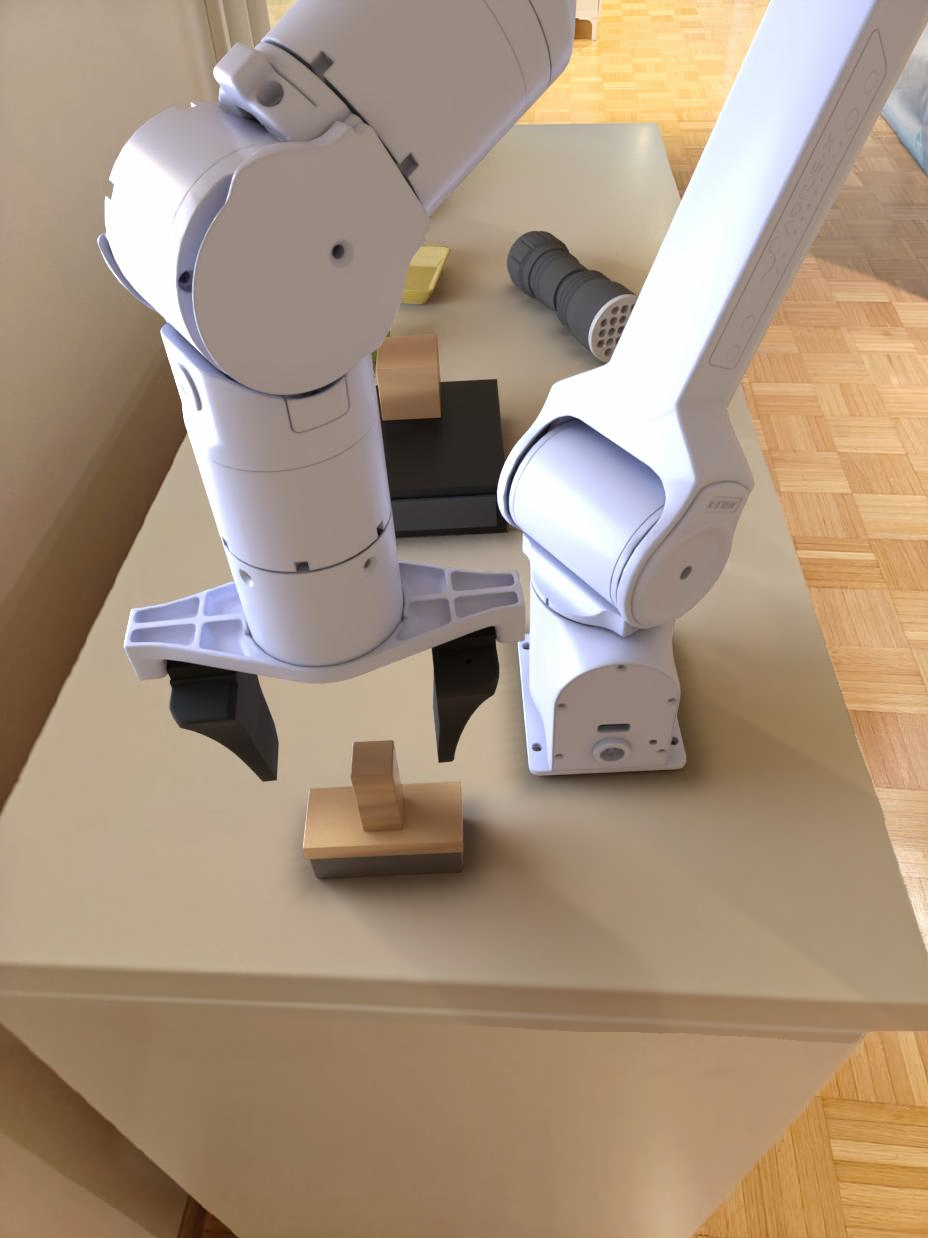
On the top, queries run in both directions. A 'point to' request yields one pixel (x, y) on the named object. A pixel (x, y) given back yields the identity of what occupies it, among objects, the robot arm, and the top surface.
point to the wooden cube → (409, 377)
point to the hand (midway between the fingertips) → (357, 753)
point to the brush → (383, 821)
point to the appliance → (447, 464)
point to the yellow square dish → (424, 273)
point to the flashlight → (571, 291)
